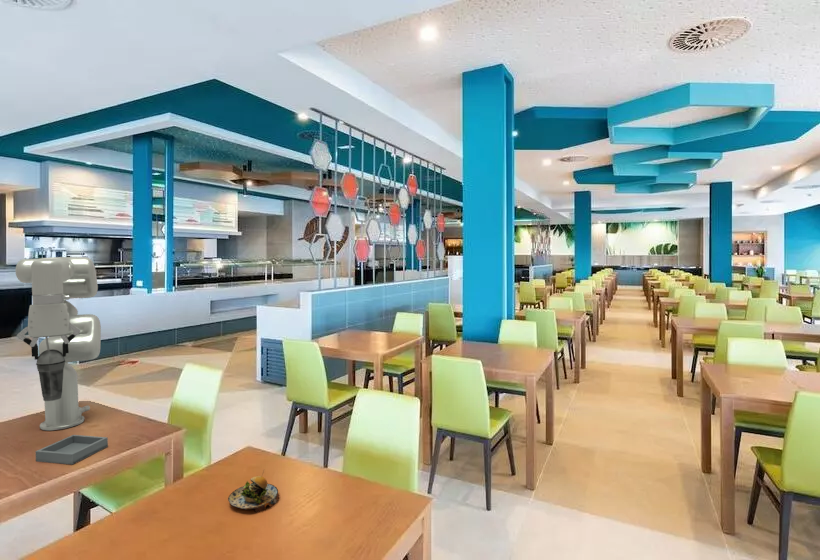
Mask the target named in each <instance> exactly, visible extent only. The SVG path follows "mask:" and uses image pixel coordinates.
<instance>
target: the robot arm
mask: <svg viewBox="0 0 820 560" xmlns="http://www.w3.org/2000/svg"><path fill="white" fill-rule="evenodd" d="M15 276H16V278H17V280H18V281H19V282H20V283H23V284H31V293H32V294H31V295H32V297H31V298H32V304H30V305H29V308H28V314H27V315H28V316H27V318H28V319H27V326H25V327H24V328H23V329H22V330H21V331H20V332H18V333H17V334H16V338H18V339H19V340H21V341H23V343H25V344H27V345H28V346H29V347H31V358H34V360H35V361H37V359H38V357H39V355H40V354H41V353H42V352H44V351H46V350H47V344H46V338H45V337H48V343H49V350H51V349H54V350H58V351H60V352H61V353H62V354H63V356H64V358H65V365H64V370H63V386H62V395H61V398H60V399H58V400H53V401H44V421H43V422H41V423H40V424H39V429H41V430H42V431H58V430H59V431H60V430H65V429H69V428H72V427H76V426H79V425H81V424H83V423H84V421H85V416H84V415H82V414H83V413H85V412H88V411H90V410H91V406H90V405H84V406H82V407H81V406H79V388H78V387H79V386H78V385H79V384H78V381H79V380H78V371H77V370H76V369H75V368H74V367H73V366H72V365H70V364H69V363H72V362H74V363H75V362H82V361H84V362H85V361H90V360H94V359H97V358H98V357H99V356H100V353H101V343H102V342H101V337H102V335H101V334H102V333H101V332H102V329H101V328H102V327H101V320H100V319H99V316H97V315H95V314H91V313H89V314H88V313H85V314H78V312H79V311H78V309H77V307H76V306H75V305H73V303H71V302H70V301H68V300H70V299H91V298H94V297H95V296H96V295H97V293H98V289H99V285H98V279H97V272H96V267H95V264H94V262H93V260H92V259H91V258H89V257H86V256H56V257H52V256H51V257H41V258H24V259H23V258H22V259H20V260H19V261H18V262H17V264H16V265H15ZM26 334H28V337H27V336H26ZM29 337H30V338H32V339H30V338H29ZM40 338H44V339H42V340H41V341H40V342H39V345H38V343H37V342H38V341H39V340H38V339H40Z"/></svg>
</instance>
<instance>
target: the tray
mask: <svg viewBox="0 0 820 560" xmlns="http://www.w3.org/2000/svg"><path fill="white" fill-rule="evenodd" d="M108 447H109V439H108V437H106V436H94V435H80V434H72V435H69V436H67V437H65V438H63V439H61V440H59V441H56V442H54V443H52V444H49V445H47V446H45V447H42V448H40V449H37V450H35V453H34V454H35V462H39V463H40V462H41V463H50V464H61V465H62V464H63V465H71V466H72V465H75V464H77V463H79V462H81V461H83V460H85V459H87V458H89V457H90V456H92V455H95V454H96V453H98V452H100V451H102V450H105V449H106V448H108Z"/></svg>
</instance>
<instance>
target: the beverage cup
mask: <svg viewBox="0 0 820 560" xmlns="http://www.w3.org/2000/svg"><path fill="white" fill-rule="evenodd" d="M44 339H46V344H47V350H46V351H44V352H42V353H41V354H38V359H37V360H36V364H35V365H36V369H37V371H38V375H39V383H40V389H41V395H42V399H43V401H53V400H58V399H60V398H61V395H62V386H63V370H64V365H65V358H64V356H63V354H62V353H61V352H60V351H58V350H54V349H51V350H49V343H48V337H44Z"/></svg>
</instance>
